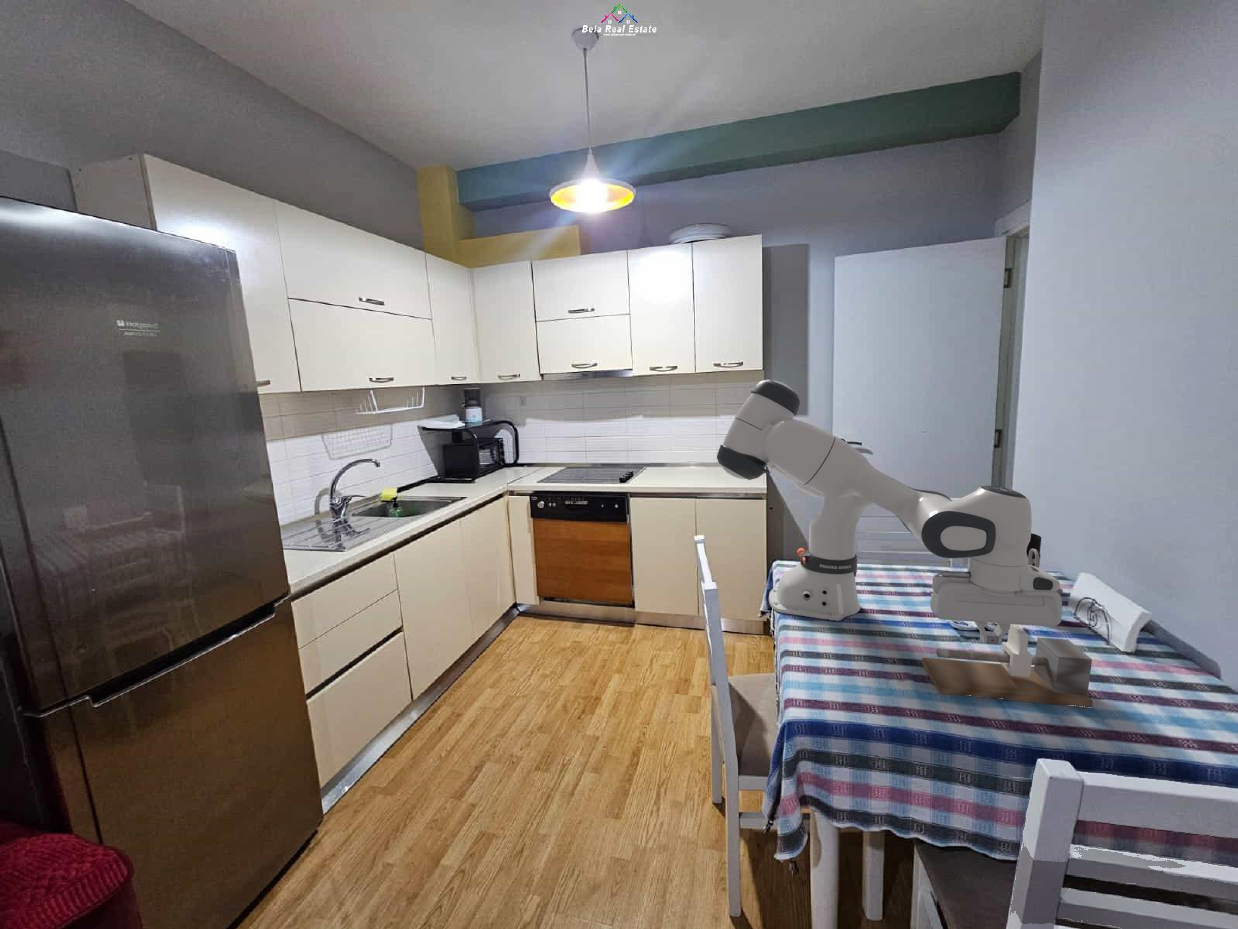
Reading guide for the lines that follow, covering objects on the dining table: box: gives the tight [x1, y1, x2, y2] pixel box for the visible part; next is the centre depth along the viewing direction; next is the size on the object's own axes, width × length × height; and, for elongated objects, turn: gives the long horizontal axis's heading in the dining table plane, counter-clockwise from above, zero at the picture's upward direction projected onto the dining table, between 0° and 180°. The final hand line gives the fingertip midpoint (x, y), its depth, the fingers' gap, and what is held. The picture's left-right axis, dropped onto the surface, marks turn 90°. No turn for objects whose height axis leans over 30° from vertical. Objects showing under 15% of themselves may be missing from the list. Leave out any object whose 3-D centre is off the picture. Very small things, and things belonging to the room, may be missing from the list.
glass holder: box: [1026, 532, 1042, 568], centre depth 135 cm, size 9×14×15 cm, turn 160°
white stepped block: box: [999, 624, 1033, 677], centre depth 96 cm, size 3×4×8 cm
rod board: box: [921, 637, 1094, 708], centre depth 97 cm, size 24×10×8 cm, turn 76°
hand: (990, 642), depth 97 cm, fingers closed
